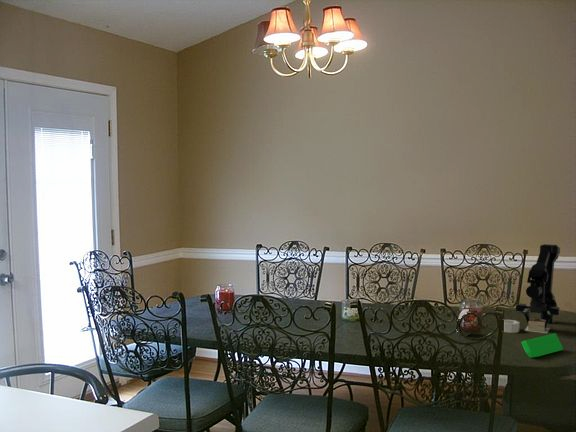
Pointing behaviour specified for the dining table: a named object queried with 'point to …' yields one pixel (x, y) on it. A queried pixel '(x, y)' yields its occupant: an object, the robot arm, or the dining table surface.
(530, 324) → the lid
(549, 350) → the green rectangular block
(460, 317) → the figurine
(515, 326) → the bowl
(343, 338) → the dining table surface
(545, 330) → the mat
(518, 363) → the dining table surface
